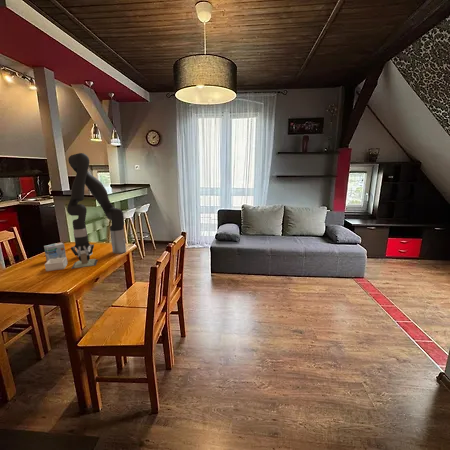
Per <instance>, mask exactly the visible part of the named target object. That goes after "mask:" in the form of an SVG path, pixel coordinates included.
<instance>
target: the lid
mask: <svg viewBox="0 0 450 450" xmlns="http://www.w3.org/2000/svg"><path fill="white" fill-rule="evenodd" d="M80 256H81V261H79V260H77V261H75V262H76V264H75V266H74V268H73V269H79V268H78V267H81V268H86V266H88V267H94V266H93V265H94V263H95V260H97V259H96V258H90V259H89V261H87V254H86V253H82V254H81V255H80Z"/></svg>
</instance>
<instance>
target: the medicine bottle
mask: <svg viewBox="0 0 450 450" xmlns="http://www.w3.org/2000/svg"><path fill="white" fill-rule="evenodd" d="M75 250H76V252H77V253H78V249H77V248H76V247H75ZM90 250H91V248H90V246H89V247H88V251H89V252H90ZM82 253H86V252H85V251H81V254H82ZM92 255H93V252H92V253H91V254H89V256H92ZM77 258H79V256H77Z"/></svg>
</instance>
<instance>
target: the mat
mask: <svg viewBox="0 0 450 450" xmlns="http://www.w3.org/2000/svg"><path fill="white" fill-rule="evenodd" d="M98 261H99V259H98V258H97V259H96V260H95V263H94V265H93V266H92V267H95V266H97V264H98ZM76 262H77V261H75V262H74V263H73V265H72V267H71V268H70V269H71V270H72V269H75V268H74V266H75V264H76ZM86 267H89V266H86ZM86 267H85V268H86ZM80 268H82V267H78V268H77V269H80Z"/></svg>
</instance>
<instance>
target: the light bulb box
mask: <svg viewBox="0 0 450 450" xmlns="http://www.w3.org/2000/svg"><path fill="white" fill-rule="evenodd" d="M43 248H44V254H45V260H46V262H47V261H48V260H49V259H55V258H64V257H67V254H66V253H67V252H66V248H65V243H63V242H61V241H60V242H57V243H56V242H55V243H51V244H48V245H43Z"/></svg>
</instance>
